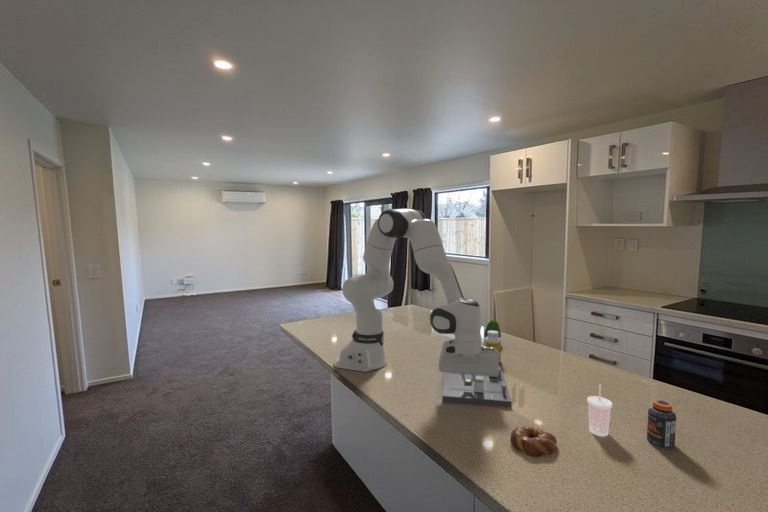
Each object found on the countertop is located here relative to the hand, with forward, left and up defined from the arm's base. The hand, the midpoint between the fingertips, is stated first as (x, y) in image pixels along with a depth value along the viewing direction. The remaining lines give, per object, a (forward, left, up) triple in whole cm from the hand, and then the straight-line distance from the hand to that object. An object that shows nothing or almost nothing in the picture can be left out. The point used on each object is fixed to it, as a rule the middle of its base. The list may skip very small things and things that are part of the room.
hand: (468, 385), depth 123 cm
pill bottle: (+49, -19, -4) cm, 53 cm away
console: (+2, +7, -4) cm, 8 cm away
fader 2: (+9, +14, -1) cm, 17 cm away
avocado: (+13, +58, -4) cm, 60 cm away
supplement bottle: (+11, +35, -4) cm, 37 cm away
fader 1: (+4, 0, -1) cm, 4 cm away
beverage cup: (+35, -16, -4) cm, 39 cm away
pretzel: (+16, -25, -4) cm, 30 cm away
